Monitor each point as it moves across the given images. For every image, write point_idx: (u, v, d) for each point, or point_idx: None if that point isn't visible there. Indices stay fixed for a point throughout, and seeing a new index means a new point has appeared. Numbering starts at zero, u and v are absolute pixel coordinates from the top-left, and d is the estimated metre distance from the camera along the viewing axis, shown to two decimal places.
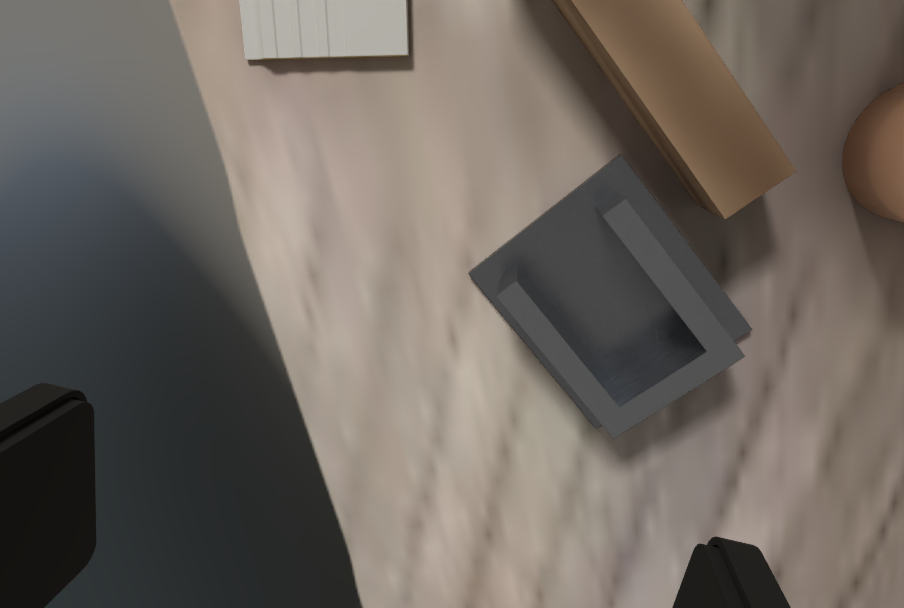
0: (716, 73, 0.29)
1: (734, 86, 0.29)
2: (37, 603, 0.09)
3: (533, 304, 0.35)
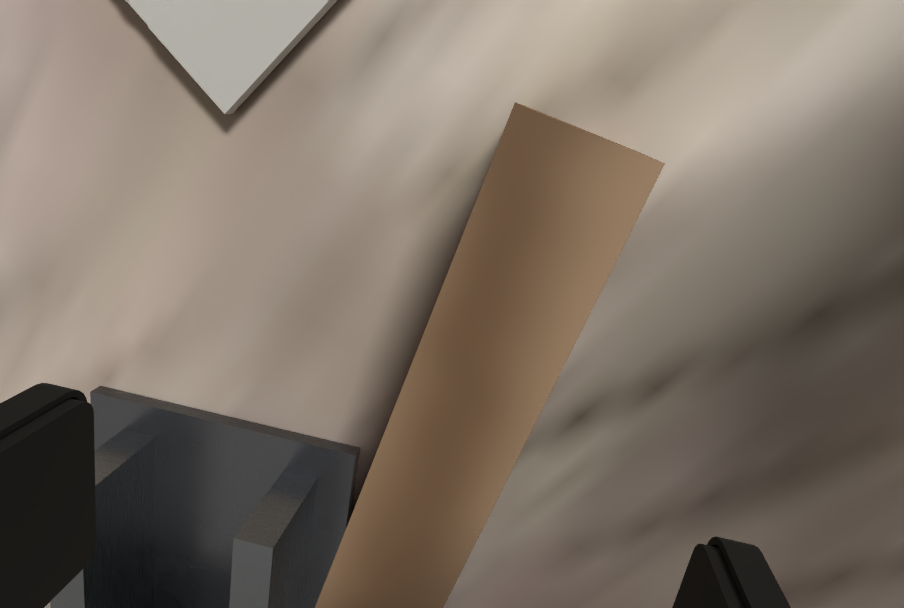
0: (450, 555, 0.19)
1: (448, 583, 0.20)
2: (37, 603, 0.09)
3: None
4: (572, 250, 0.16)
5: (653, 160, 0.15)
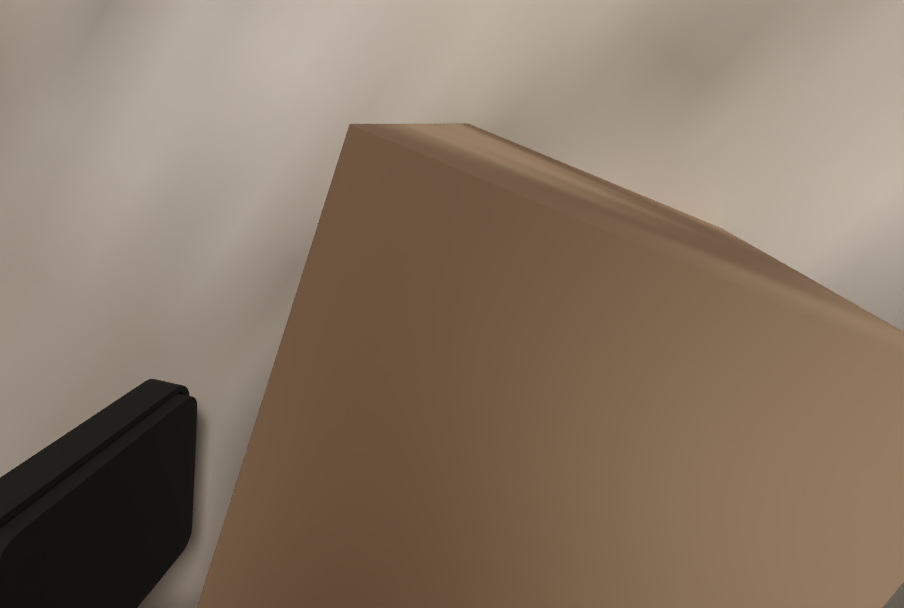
0: None
1: None
2: (149, 583, 0.09)
3: None
4: None
5: None
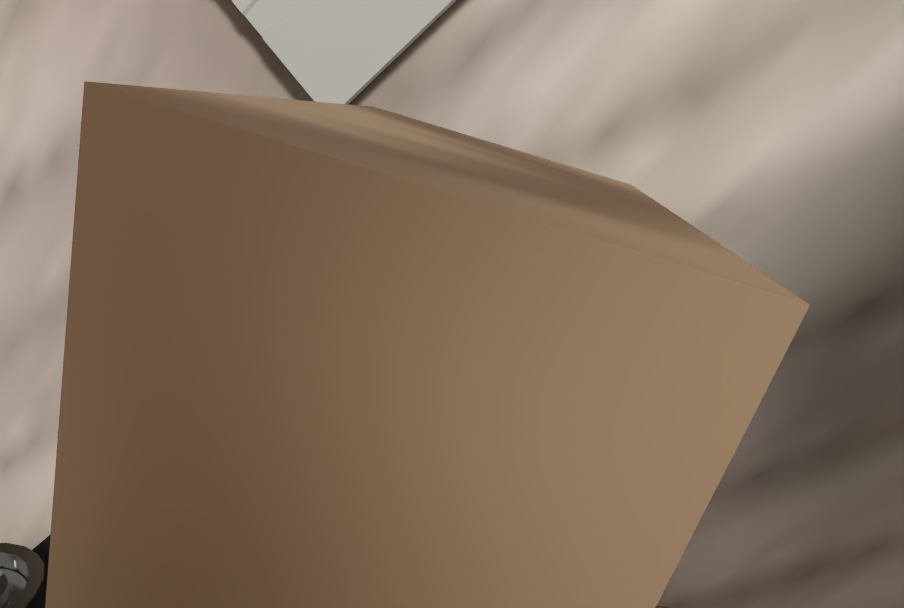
0: None
1: None
2: None
3: None
4: None
5: (754, 295, 0.03)
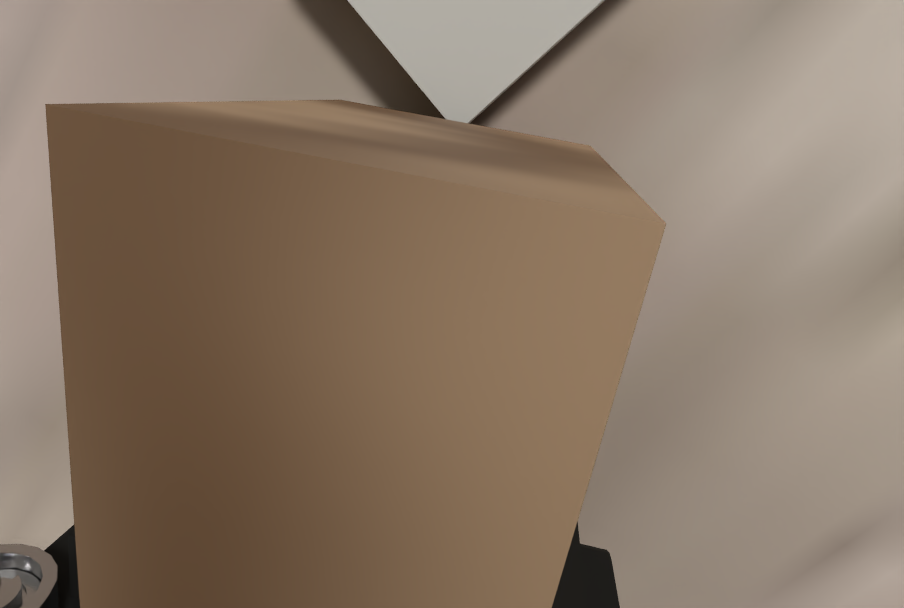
0: None
1: None
2: None
3: None
4: (410, 554, 0.05)
5: (616, 220, 0.04)
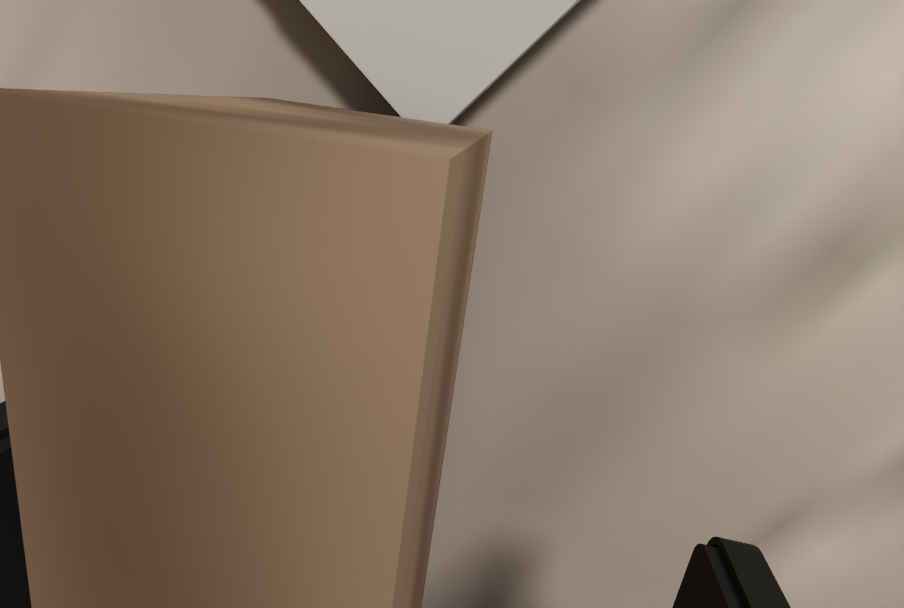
0: None
1: None
2: None
3: None
4: (289, 453, 0.06)
5: (412, 158, 0.05)
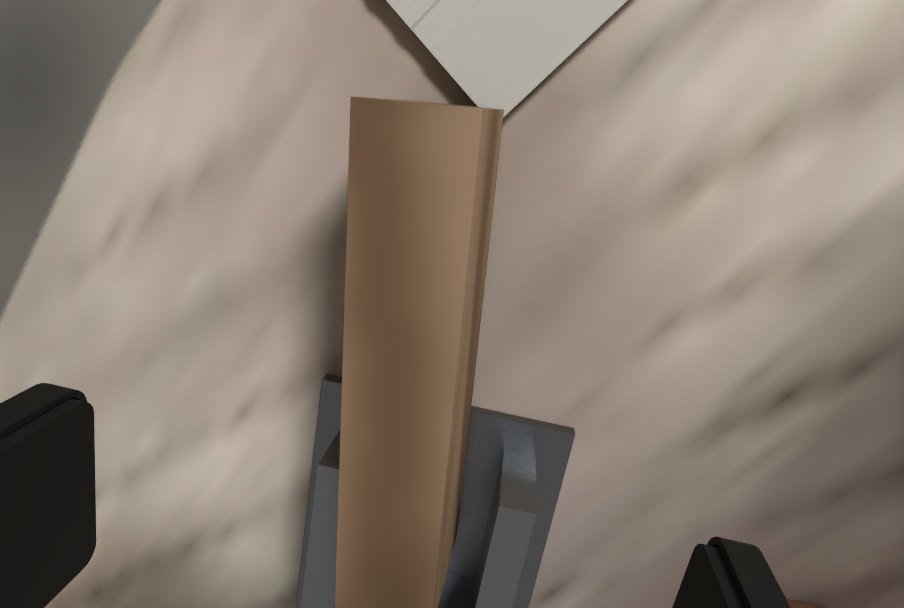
0: (429, 498, 0.22)
1: (435, 523, 0.22)
2: (37, 603, 0.09)
3: None
4: (436, 203, 0.18)
5: (472, 109, 0.17)
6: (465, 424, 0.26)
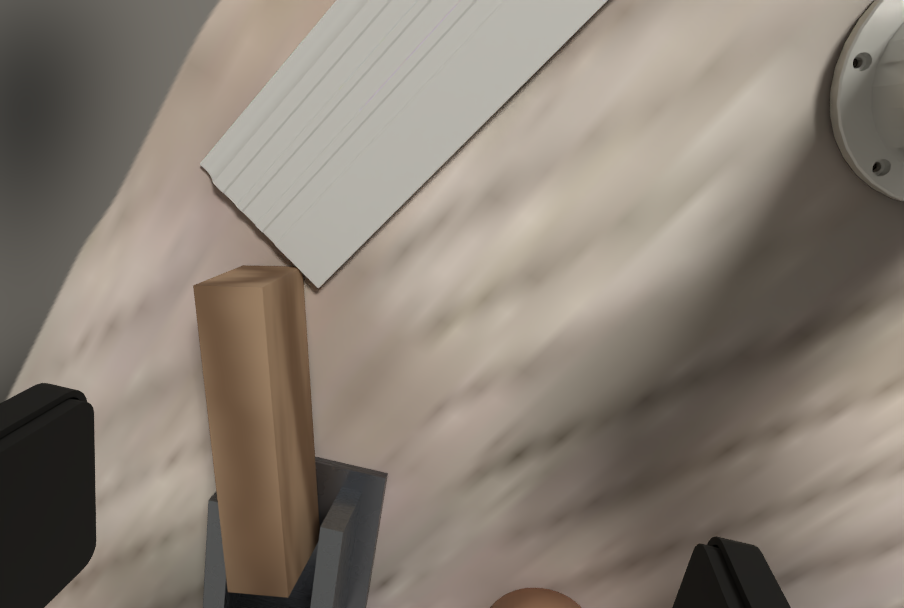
0: (272, 506, 0.36)
1: (278, 522, 0.36)
2: (37, 603, 0.09)
3: None
4: (246, 337, 0.33)
5: (256, 288, 0.32)
6: (306, 460, 0.40)
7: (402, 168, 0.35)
